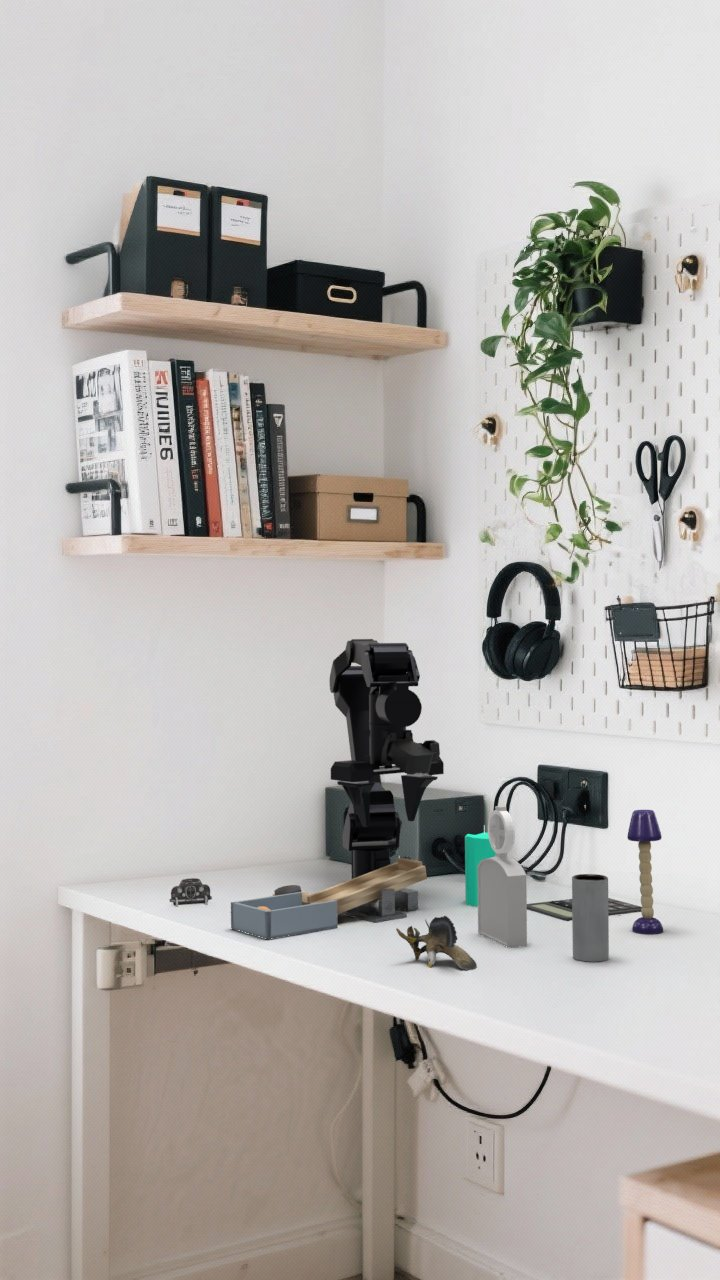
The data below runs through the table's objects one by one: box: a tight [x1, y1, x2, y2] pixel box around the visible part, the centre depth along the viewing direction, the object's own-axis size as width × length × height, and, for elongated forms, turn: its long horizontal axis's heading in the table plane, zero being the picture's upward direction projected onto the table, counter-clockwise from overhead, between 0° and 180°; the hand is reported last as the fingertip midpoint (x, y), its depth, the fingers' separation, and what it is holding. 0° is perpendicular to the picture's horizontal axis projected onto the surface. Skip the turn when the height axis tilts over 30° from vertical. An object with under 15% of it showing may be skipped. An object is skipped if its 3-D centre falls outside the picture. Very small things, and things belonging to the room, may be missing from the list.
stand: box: [339, 887, 419, 923], centre depth 205 cm, size 11×10×4 cm
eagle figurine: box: [395, 915, 478, 971], centre depth 172 cm, size 8×7×9 cm
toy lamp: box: [627, 809, 664, 935], centre depth 191 cm, size 5×5×17 cm
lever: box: [271, 857, 428, 915], centre depth 207 cm, size 18×15×3 cm
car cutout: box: [169, 877, 213, 908], centre depth 214 cm, size 15×7×4 cm, turn 108°
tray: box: [230, 891, 338, 940], centre depth 194 cm, size 9×12×4 cm
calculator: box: [527, 897, 642, 922], centre depth 206 cm, size 12×1×15 cm
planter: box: [571, 873, 610, 963], centre depth 175 cm, size 4×4×10 cm
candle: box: [464, 824, 496, 907], centre depth 212 cm, size 6×6×12 cm
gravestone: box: [477, 805, 528, 948], centre depth 186 cm, size 3×9×18 cm, turn 20°
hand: (388, 823), depth 214 cm, fingers open, 9 cm apart
